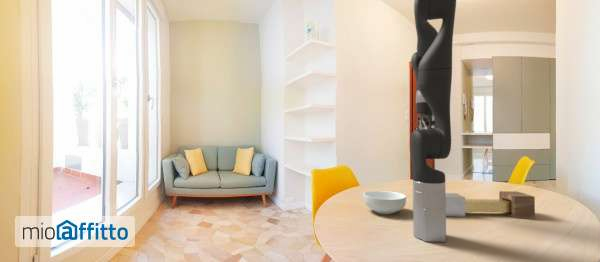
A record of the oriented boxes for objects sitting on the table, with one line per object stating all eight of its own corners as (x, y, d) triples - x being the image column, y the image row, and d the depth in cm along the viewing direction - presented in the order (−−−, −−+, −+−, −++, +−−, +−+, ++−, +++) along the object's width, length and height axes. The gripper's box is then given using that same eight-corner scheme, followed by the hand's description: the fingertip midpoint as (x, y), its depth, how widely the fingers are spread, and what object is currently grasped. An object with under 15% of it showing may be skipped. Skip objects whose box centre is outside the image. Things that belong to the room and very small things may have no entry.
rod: (521, 212, 106) (521, 202, 106) (455, 212, 108) (455, 201, 108) (514, 209, 110) (514, 199, 110) (450, 209, 112) (450, 198, 112)
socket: (534, 218, 103) (534, 196, 103) (514, 218, 104) (514, 196, 104) (518, 211, 112) (517, 191, 112) (499, 211, 113) (499, 191, 113)
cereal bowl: (413, 217, 105) (412, 199, 106) (368, 218, 106) (368, 199, 106) (398, 206, 122) (397, 189, 122) (360, 206, 123) (359, 190, 123)
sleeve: (465, 216, 106) (465, 197, 106) (424, 215, 107) (424, 197, 107) (456, 211, 113) (456, 193, 113) (418, 210, 114) (418, 193, 114)
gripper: (443, 99, 103) (444, 143, 102) (429, 103, 117) (429, 142, 117) (422, 99, 103) (423, 143, 103) (410, 103, 117) (411, 142, 117)
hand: (426, 142), depth 110 cm, fingers open, 8 cm apart
